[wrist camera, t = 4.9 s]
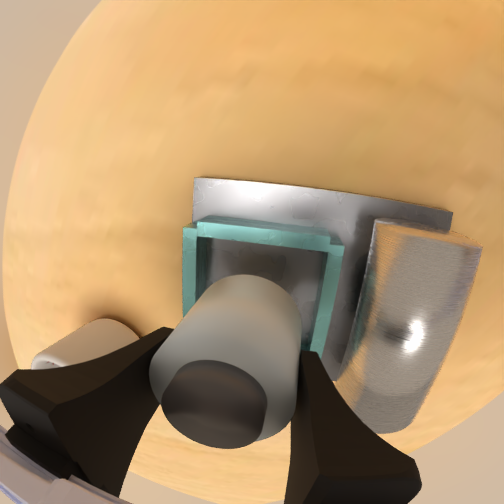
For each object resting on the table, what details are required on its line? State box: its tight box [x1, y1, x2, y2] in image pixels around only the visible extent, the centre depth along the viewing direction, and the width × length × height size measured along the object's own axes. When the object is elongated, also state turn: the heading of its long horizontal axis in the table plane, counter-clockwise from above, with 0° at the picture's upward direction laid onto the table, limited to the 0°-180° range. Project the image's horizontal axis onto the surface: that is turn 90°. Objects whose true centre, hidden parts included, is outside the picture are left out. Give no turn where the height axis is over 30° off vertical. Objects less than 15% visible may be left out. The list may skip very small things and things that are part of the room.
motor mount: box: [182, 177, 483, 434], centre depth 16 cm, size 16×13×7 cm
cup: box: [31, 319, 140, 369], centre depth 20 cm, size 11×8×8 cm
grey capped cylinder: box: [149, 275, 302, 449], centre depth 11 cm, size 5×5×6 cm
